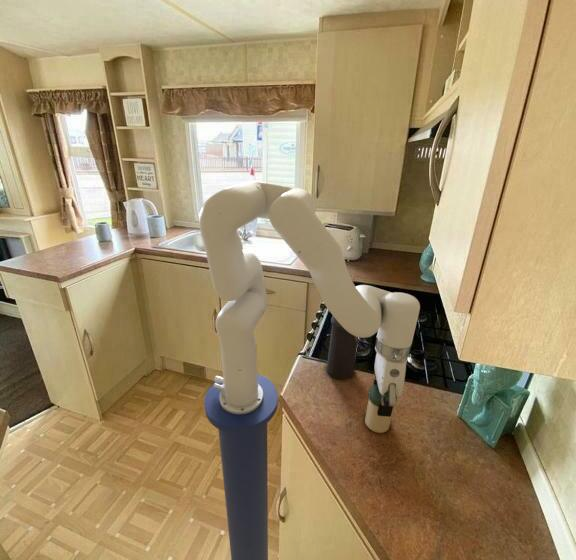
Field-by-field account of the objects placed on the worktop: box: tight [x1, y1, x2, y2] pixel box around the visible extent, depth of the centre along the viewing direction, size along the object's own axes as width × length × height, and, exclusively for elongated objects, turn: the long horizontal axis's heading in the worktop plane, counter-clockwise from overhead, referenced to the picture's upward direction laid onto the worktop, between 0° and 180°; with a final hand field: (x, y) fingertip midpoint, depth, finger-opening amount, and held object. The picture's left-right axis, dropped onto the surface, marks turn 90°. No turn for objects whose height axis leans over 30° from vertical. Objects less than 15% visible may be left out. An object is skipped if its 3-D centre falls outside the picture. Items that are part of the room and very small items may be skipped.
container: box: [326, 315, 359, 380], centre depth 95 cm, size 9×9×20 cm
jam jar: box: [364, 398, 395, 434], centre depth 80 cm, size 6×6×9 cm
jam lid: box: [367, 384, 398, 406], centre depth 78 cm, size 7×7×2 cm
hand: (381, 402), depth 79 cm, fingers closed on jam lid, 6 cm apart
